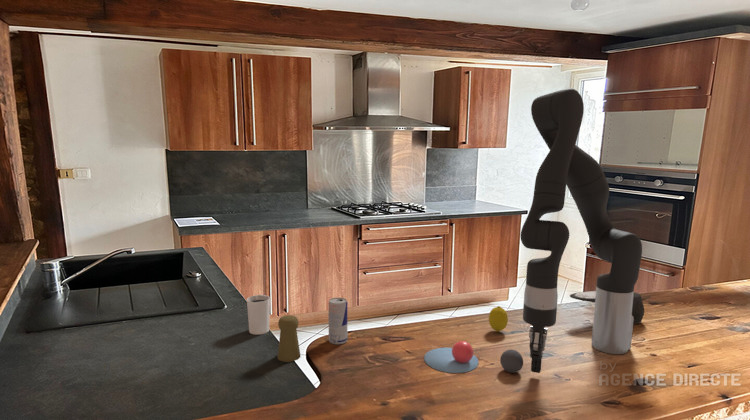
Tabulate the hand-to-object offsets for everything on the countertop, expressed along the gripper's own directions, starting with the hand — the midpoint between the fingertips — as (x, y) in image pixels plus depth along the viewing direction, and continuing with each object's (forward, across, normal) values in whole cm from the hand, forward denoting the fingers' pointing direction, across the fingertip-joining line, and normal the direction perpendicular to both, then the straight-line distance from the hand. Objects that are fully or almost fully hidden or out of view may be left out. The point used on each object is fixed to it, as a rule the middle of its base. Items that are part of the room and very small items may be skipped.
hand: (535, 371), depth 116 cm
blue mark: (+2, 0, +21) cm, 21 cm away
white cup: (+2, -6, +78) cm, 78 cm away
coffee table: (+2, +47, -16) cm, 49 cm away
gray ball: (-1, 0, +6) cm, 6 cm away
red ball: (-1, 0, +18) cm, 18 cm away
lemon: (+2, +24, +13) cm, 27 cm away
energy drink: (+2, -2, +54) cm, 54 cm away
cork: (+2, -16, +60) cm, 63 cm away
